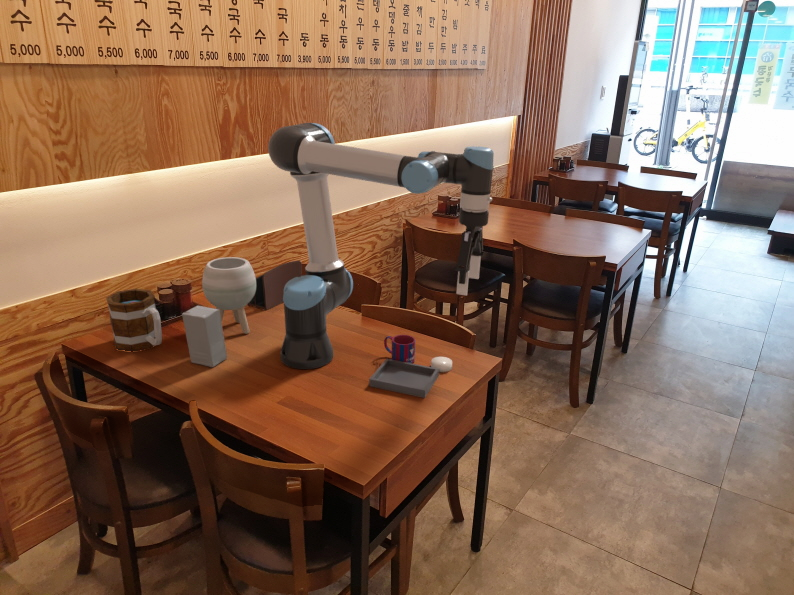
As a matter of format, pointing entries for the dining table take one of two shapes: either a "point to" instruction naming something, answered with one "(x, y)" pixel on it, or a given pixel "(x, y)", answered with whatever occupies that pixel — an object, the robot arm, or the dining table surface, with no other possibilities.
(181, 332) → the dining table surface
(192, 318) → the skincare box
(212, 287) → the planter
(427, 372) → the tray
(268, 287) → the letter holder
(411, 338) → the cup
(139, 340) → the mug
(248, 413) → the dining table surface
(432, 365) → the white rounded flat piece
